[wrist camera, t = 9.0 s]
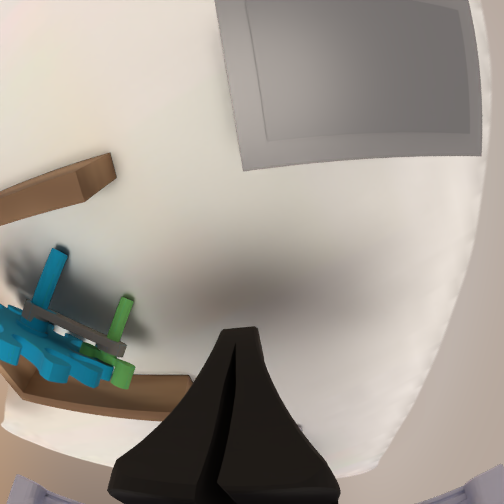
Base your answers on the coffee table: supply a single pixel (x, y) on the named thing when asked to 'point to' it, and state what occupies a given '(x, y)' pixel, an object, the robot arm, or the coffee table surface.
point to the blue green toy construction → (63, 337)
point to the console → (351, 79)
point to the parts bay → (73, 392)
